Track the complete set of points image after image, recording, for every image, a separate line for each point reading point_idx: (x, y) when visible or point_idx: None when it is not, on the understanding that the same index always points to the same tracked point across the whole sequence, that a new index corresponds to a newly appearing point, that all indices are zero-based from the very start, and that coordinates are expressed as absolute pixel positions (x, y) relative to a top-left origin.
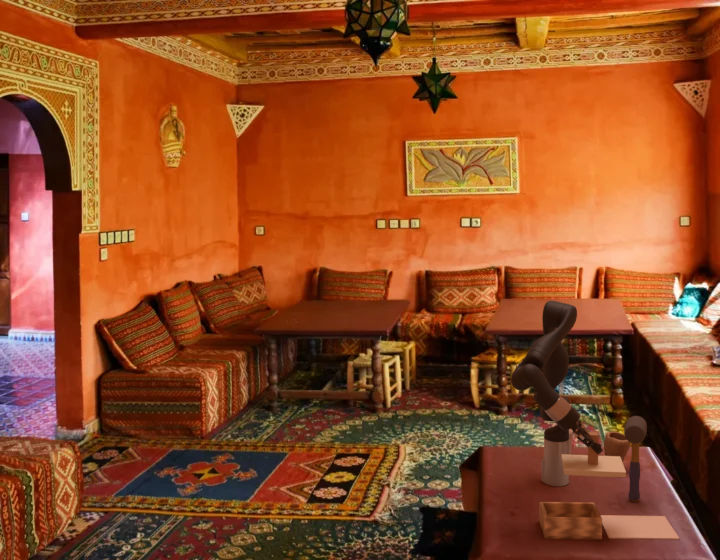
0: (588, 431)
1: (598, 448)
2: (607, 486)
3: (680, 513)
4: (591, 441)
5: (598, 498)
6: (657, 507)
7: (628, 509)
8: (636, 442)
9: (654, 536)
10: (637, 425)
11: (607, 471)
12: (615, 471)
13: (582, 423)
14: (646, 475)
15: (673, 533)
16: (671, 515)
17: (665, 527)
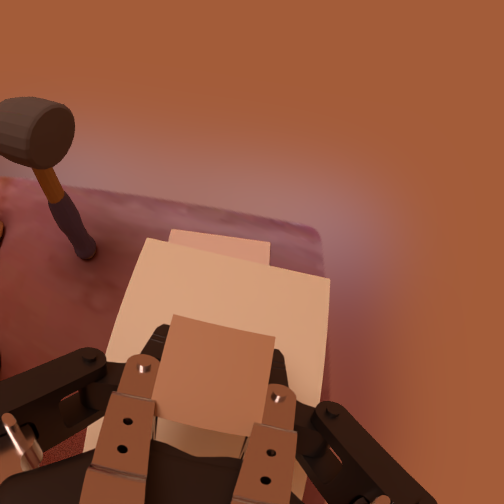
0: (153, 412)
1: (284, 366)
2: (23, 273)
3: (162, 200)
4: (355, 427)
5: (59, 316)
6: (128, 225)
7: (121, 279)
8: (64, 153)
9: None
10: (47, 105)
11: (322, 352)
12: (322, 318)
13: (91, 492)
14: (21, 197)
15: (249, 244)
16: (166, 216)
17: (222, 246)
